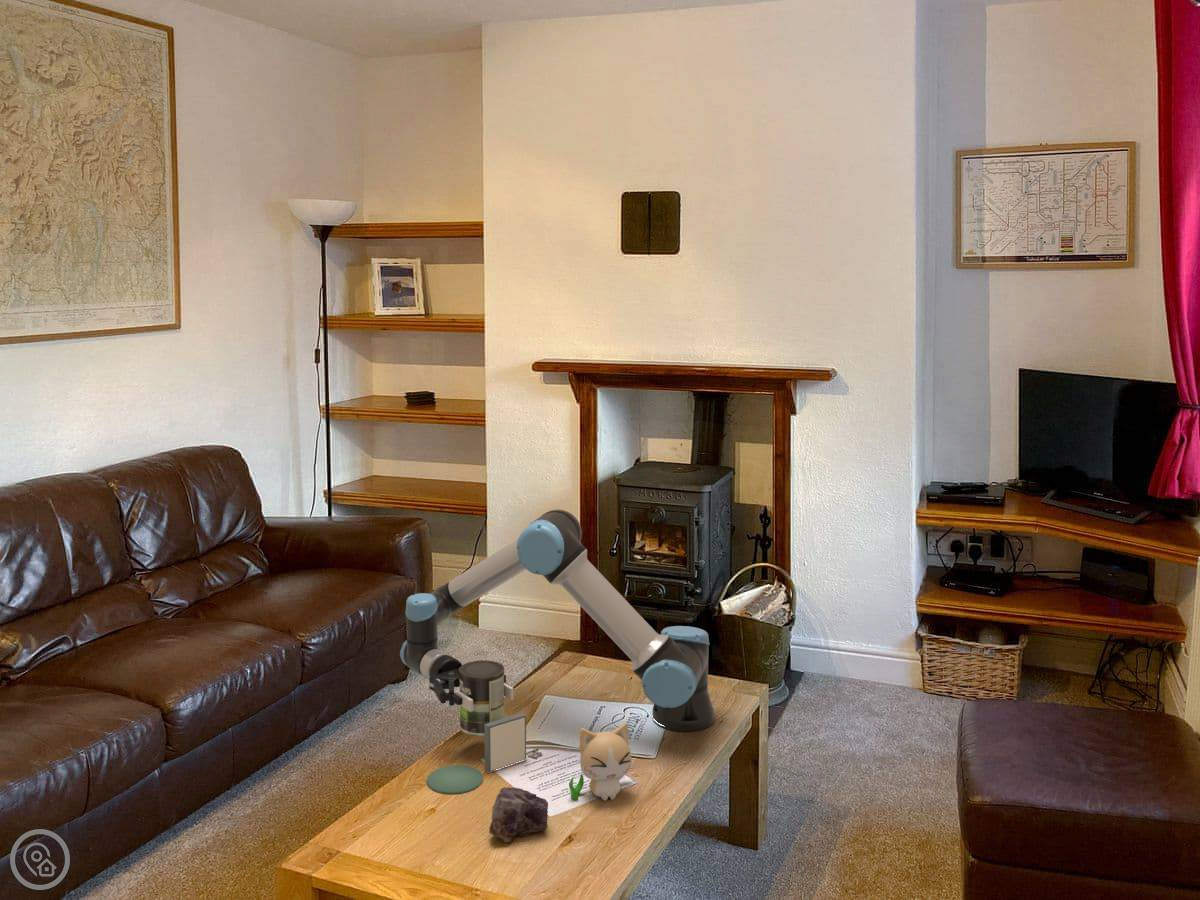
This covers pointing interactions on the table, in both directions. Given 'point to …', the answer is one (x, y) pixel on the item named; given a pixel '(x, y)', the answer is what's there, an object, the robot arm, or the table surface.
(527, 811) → the rock
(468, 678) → the coffee can
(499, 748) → the slate tile
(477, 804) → the table surface
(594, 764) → the kitten
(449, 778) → the coaster
